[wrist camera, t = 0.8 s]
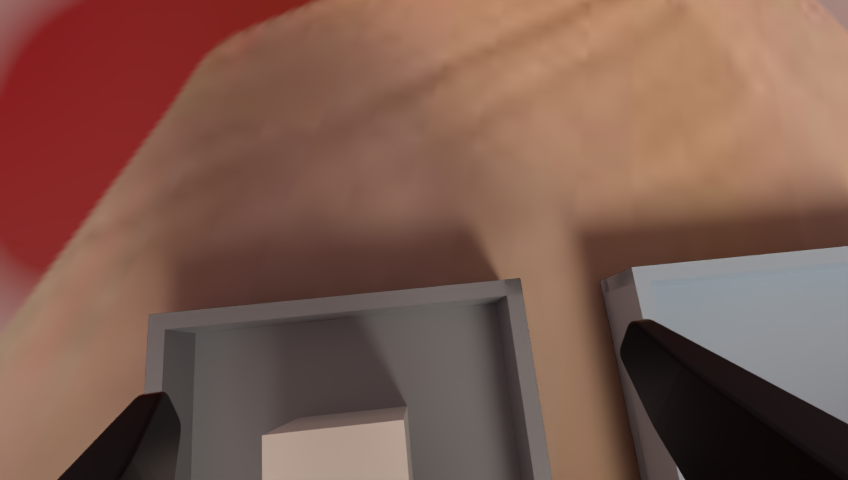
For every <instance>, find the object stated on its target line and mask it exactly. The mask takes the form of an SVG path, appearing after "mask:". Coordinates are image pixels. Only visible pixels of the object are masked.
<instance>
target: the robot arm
mask: <svg viewBox="0 0 848 480" xmlns="http://www.w3.org/2000/svg"><path fill="white" fill-rule="evenodd" d="M620 357H621V360H622V362H623V364H624V367H625V369H626V371H627V373H628V375H629V377H630V379H631V381H632V383H633V385H634V388H635V390H636V392H637V394H638V396H639V398H640V400H641V402H642V404H643V407H644V409H645V411H646V413H647V415H648V417H649V419H650V421H651V423H652V425H653V427H654V428H655V430H656V432H657V434H658V435H659V437H660V439H661V441H662V442H663V444H664V446H665V447H666V449H667V451H668V452H669V454H670V456H671V457H672V459H673V461H674V462H675V464H676V466H677V467H678V469H679V471H680V472H681V474H682V476H683V477H684V479H685V480H848V424H847V423H845V422H844V421H842V420H840V419H838V418H836V417H834V416H832V415H830V414H829V413H827V412H825V411H823V410H821V409H819V408H817V407H815V406H814V405H812V404H810V403H808V402H806V401H804V400H802V399H800V398H798V397H797V396H795V395H793V394H791V393H789V392H787V391H785V390H783V389H782V388H780V387H778V386H776V385H774V384H772V383H770V382H768V381H766V380H765V379H763V378H761V377H759V376H757V375H755V374H753V373H751V372H750V371H748V370H746V369H744V368H742V367H740V366H738V365H736V364H734V363H733V362H731V361H729V360H727V359H725V358H723V357H721V356H719V355H718V354H716V353H714V352H712V351H710V350H708V349H706V348H704V347H702V346H701V345H699V344H697V343H695V342H693V341H691V340H689V339H687V338H686V337H684V336H682V335H680V334H678V333H676V332H674V331H672V330H671V329H669V328H667V327H665V326H663V325H661V324H659V323H657V322H655V321H653V320H651V319H642V320H635V321H631V322H630V323H629V324H628V326H627V329H626V332H625V335H624V338H623V340H622V343H621V346H620ZM180 436H181V423H180V419H179V417H178V415H177V412H176V410H175V408H174V406H173V404H172V402H171V399H170V397H169V395H168V394H167V393H166V392H162V391H160V392H154V393H147V394H142V395H139V396H138V397H137V398H135V399H134V400H133V401H132V402H131V403H130V404H129V405H128V406H127V408H126V409H125V410H124V411H123V412H122V413H121V414H120V415H119V416H118V417H117V418H116V419H115V420H114V421H113V422H112V423H111V424H110V425H109V426H108V427H107V428H106V429H105V430H104V432H103V433H102V434H101V435H100V436H99V437H98V438H97V439H96V440H95V441H94V442H93V443H92V444H91V445H90V446H89V447H88V448H87V449H86V450H85V451H84V452H83V453H82V454H81V456H80V457H79V458H78V459H77V460H76V461H75V462H74V463H73V464H72V465H71V466H70V467H69V468H68V469H67V470H66V471H65V472H64V473H63V474H62V475H61V476H60V477H59V479H58V480H175V474H176V466H177V459H178V451H179V444H180Z"/></svg>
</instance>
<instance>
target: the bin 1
mask: <svg viewBox="0 0 848 480" xmlns="http://www.w3.org/2000/svg"><path fill="white" fill-rule="evenodd" d="M160 391H162V392H166V393H167V394H168V395H169V397H170V399H171V402H172V404H173V406H174V408H175V410H176V412H177V415H178V417H179V419H180V423H181V436H180V444H179V451H178V459H177V466H176V474H175V480H262V435H264V434H266V433H268V432H270V431H272V430H274V429H276V428H278V427H280V426H282V425H284V424H287V423H289V422H291V421H293V420H295V419H297V418H300V417H310V416H319V415H328V414H337V413H347V412H356V411H365V410H374V409H384V408H393V407H402V406H407V410H408V422H409V434H410V446H411V457H412V469H413V480H552V475H551V469H550V463H549V456H548V450H547V444H546V437H545V431H544V425H543V418H542V412H541V406H540V400H539V393H538V387H537V381H536V374H535V368H534V362H533V355H532V349H531V343H530V337H529V330H528V324H527V318H526V311H525V305H524V299H523V292H522V286H521V280H520V278H516V279H506V280H496V281H486V282H476V283H465V284H455V285H445V286H435V287H424V288H414V289H404V290H394V291H383V292H373V293H363V294H353V295H343V296H332V297H322V298H312V299H302V300H291V301H281V302H271V303H261V304H251V305H240V306H230V307H220V308H210V309H199V310H189V311H179V312H169V313H159V314H149V321H148V337H147V354H146V371H145V388H144V394H147V393H154V392H160Z"/></svg>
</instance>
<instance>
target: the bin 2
mask: <svg viewBox="0 0 848 480" xmlns="http://www.w3.org/2000/svg"><path fill="white" fill-rule="evenodd" d="M600 282H601V287H602V292H603V297H604V302H605V306H606V311H607V316H608V321H609V326H610V331H611V336H612V340H613V345H614V350H615V355H616V360H617V365H618V370H619V374H620V379H621V384H622V389H623V394H624V399H625V404H626V408H627V413H628V418H629V423H630V428H631V433H632V438H633V443H634V447H635V452H636V457H637V462H638V467H639V472H640V477H641V480H685V479H684V477H683V476H682V474H681V472H680V471H679V469H678V467H677V466H676V464H675V462H674V461H673V459H672V457H671V456H670V454H669V452H668V451H667V449H666V447H665V446H664V444H663V442H662V441H661V439H660V437H659V435H658V434H657V432H656V430H655V428H654V427H653V425H652V423H651V421H650V419H649V417H648V415H647V413H646V411H645V409H644V407H643V404H642V402H641V400H640V398H639V396H638V394H637V392H636V390H635V388H634V385H633V383H632V381H631V379H630V377H629V375H628V373H627V371H626V369H625V367H624V364H623V362H622V360H621V357H620V346H621V343H622V340H623V338H624V335H625V332H626V329H627V326H628V324H629V323H630V322H631V321H635V320H642V319H651V320H653V321H655V322H657V323H659V324H661V325H663V326H665V327H667V328H669V329H671V330H672V331H674V332H676V333H678V334H680V335H682V336H684V337H686V338H687V339H689V340H691V341H693V342H695V343H697V344H699V345H701V346H702V347H704V348H706V349H708V350H710V351H712V352H714V353H716V354H718V355H719V356H721V357H723V358H725V359H727V360H729V361H731V362H733V363H734V364H736V365H738V366H740V367H742V368H744V369H746V370H748V371H750V372H751V373H753V374H755V375H757V376H759V377H761V378H763V379H765V380H766V381H768V382H770V383H772V384H774V385H776V386H778V387H780V388H782V389H783V390H785V391H787V392H789V393H791V394H793V395H795V396H797V397H798V398H800V399H802V400H804V401H806V402H808V403H810V404H812V405H814V406H815V407H817V408H819V409H821V410H823V411H825V412H827V413H829V414H830V415H832V416H834V417H836V418H838V419H840V420H842V421H844V422H845V423H847V424H848V246H844V247H833V248H823V249H813V250H803V251H792V252H782V253H772V254H762V255H752V256H741V257H731V258H721V259H711V260H700V261H690V262H680V263H670V264H660V265H649V266H639V267H631V268H629V269H626V270H624V271H622V272H619V273H617V274H615V275H613V276H610V277H608V278H606V279H603V280H601V281H600Z"/></svg>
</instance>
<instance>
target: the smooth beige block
mask: <svg viewBox="0 0 848 480" xmlns="http://www.w3.org/2000/svg"><path fill="white" fill-rule="evenodd" d="M262 480H413V469H412V457H411V446H410V434H409V422H408V410H407V406H402V407H393V408H384V409H374V410H365V411H356V412H347V413H337V414H328V415H319V416H310V417H300V418H297V419H295V420H293V421H291V422H289V423H287V424H284V425H282V426H280V427H278V428H276V429H274V430H272V431H270V432H268V433H266V434H264V435H262Z"/></svg>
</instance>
